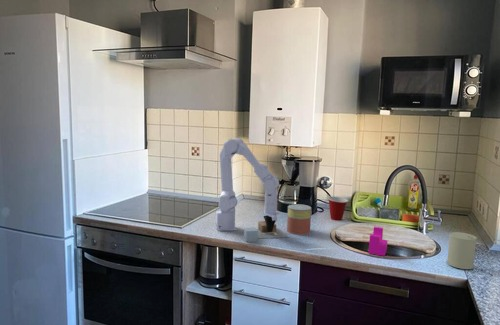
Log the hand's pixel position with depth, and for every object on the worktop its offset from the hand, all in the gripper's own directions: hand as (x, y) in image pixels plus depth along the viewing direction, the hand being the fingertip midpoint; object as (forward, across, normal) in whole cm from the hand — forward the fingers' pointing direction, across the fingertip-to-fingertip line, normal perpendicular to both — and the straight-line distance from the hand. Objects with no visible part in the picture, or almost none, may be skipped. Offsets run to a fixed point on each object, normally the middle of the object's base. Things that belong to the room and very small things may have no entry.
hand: (269, 231), depth 177 cm
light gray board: (+1, +1, 0) cm, 1 cm away
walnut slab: (+1, +5, 0) cm, 5 cm away
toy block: (+2, -26, -41) cm, 49 cm away
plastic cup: (+1, +18, -43) cm, 47 cm away
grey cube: (+1, -7, +11) cm, 13 cm away
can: (+1, -47, -63) cm, 79 cm away
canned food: (+1, +2, -15) cm, 15 cm away
